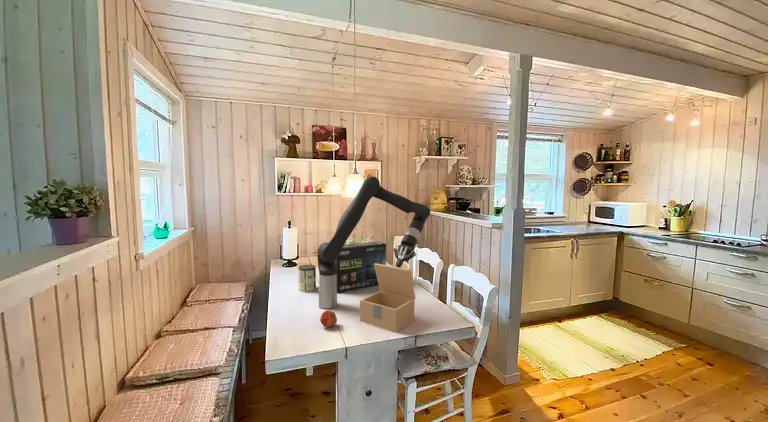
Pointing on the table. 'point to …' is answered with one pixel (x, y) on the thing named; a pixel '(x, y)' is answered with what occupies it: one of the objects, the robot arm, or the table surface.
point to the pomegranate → (328, 319)
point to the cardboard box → (387, 311)
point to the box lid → (395, 280)
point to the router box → (359, 265)
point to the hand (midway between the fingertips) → (397, 266)
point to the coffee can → (307, 278)
